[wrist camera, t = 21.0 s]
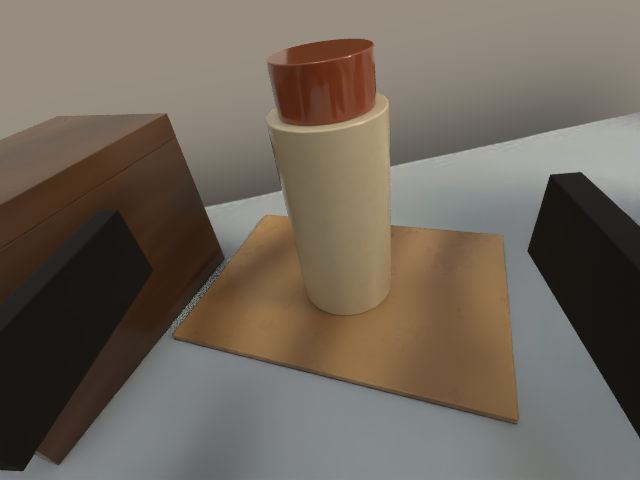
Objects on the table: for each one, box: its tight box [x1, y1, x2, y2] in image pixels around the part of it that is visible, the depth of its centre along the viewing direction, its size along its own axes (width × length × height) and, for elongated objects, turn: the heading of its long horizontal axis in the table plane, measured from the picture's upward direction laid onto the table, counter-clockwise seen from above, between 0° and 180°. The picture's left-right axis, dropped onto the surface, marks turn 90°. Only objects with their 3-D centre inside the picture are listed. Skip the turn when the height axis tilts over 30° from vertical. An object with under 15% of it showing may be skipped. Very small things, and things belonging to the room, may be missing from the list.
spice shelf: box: [0, 114, 224, 464], centre depth 21 cm, size 10×16×12 cm, turn 161°
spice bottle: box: [266, 39, 391, 315], centre depth 20 cm, size 6×6×14 cm
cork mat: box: [173, 215, 519, 424], centre depth 24 cm, size 20×14×1 cm
